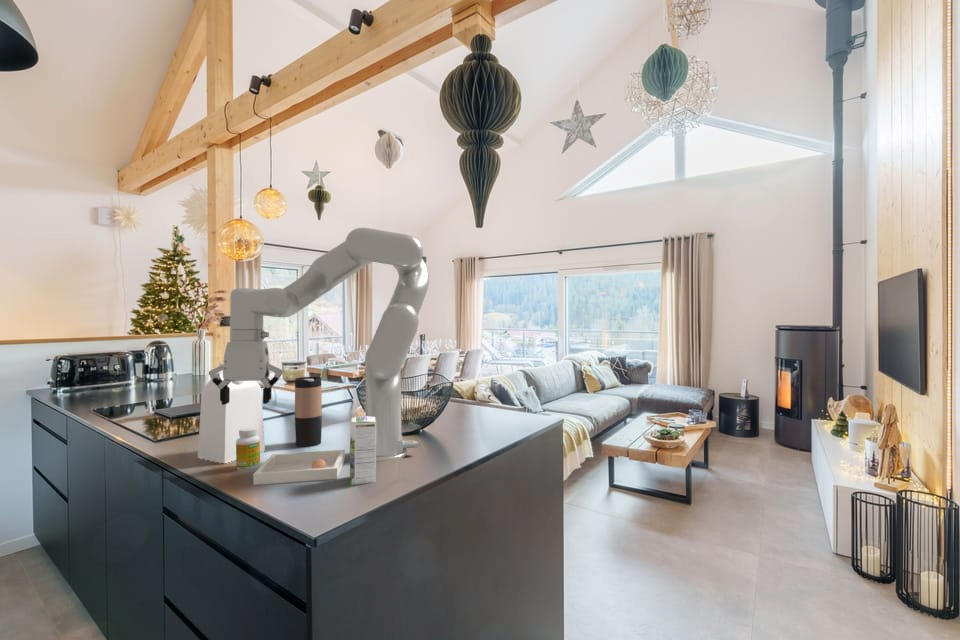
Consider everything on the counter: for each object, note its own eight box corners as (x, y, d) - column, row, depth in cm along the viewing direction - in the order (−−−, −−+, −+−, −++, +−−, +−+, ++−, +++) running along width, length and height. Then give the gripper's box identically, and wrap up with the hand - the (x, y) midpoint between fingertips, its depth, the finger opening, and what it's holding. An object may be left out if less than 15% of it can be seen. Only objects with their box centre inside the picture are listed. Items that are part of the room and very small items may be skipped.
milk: (238, 447, 130) (238, 359, 130) (265, 451, 125) (264, 361, 125) (197, 458, 119) (196, 363, 119) (224, 464, 114) (223, 365, 114)
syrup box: (350, 478, 102) (349, 417, 102) (376, 476, 104) (375, 415, 104) (349, 487, 96) (349, 422, 97) (377, 484, 98) (376, 420, 98)
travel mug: (303, 440, 136) (303, 376, 136) (326, 440, 135) (326, 376, 135) (289, 447, 129) (289, 379, 129) (314, 447, 128) (313, 380, 128)
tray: (345, 461, 115) (345, 449, 115) (337, 481, 100) (337, 468, 100) (272, 465, 112) (272, 454, 112) (253, 487, 97) (253, 474, 97)
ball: (326, 469, 107) (326, 456, 107) (324, 474, 104) (324, 460, 104) (313, 470, 106) (313, 457, 106) (310, 475, 103) (310, 461, 103)
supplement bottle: (249, 471, 108) (249, 432, 108) (231, 469, 109) (230, 431, 109) (264, 464, 113) (264, 426, 113) (246, 463, 114) (246, 426, 115)
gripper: (286, 336, 117) (285, 399, 117) (216, 336, 114) (215, 401, 113) (278, 337, 109) (278, 405, 109) (203, 337, 106) (202, 407, 106)
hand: (246, 403), depth 111 cm, fingers open, 9 cm apart
